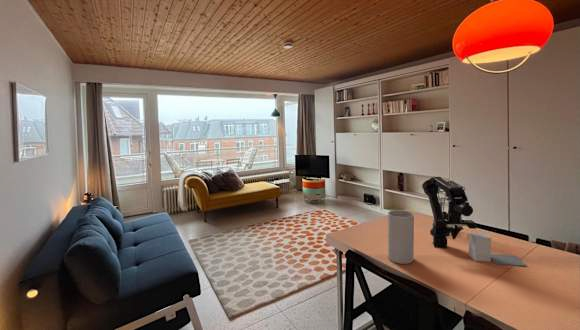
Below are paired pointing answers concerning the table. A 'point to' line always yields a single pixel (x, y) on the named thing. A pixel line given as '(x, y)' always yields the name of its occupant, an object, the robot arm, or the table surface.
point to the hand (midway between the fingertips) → (453, 239)
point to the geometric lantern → (446, 195)
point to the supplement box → (480, 247)
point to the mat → (507, 260)
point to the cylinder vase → (401, 236)
